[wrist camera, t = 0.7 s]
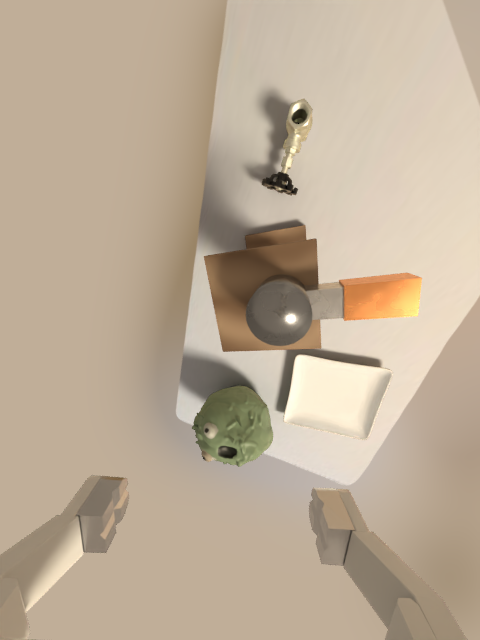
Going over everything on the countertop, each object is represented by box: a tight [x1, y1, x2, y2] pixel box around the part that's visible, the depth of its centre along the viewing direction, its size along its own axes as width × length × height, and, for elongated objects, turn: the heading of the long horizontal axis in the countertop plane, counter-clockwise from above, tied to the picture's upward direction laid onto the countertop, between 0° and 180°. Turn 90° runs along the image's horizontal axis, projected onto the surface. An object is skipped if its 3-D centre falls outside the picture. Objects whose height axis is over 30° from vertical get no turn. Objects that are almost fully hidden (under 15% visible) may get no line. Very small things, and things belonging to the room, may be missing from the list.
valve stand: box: [204, 225, 321, 352], centre depth 37 cm, size 16×12×26 cm
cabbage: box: [192, 386, 273, 467], centre depth 55 cm, size 16×19×20 cm
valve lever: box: [246, 273, 422, 346], centre depth 22 cm, size 6×15×5 cm, turn 99°
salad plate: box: [283, 354, 393, 440], centre depth 56 cm, size 21×21×3 cm
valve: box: [262, 99, 312, 195], centre depth 39 cm, size 7×7×12 cm
